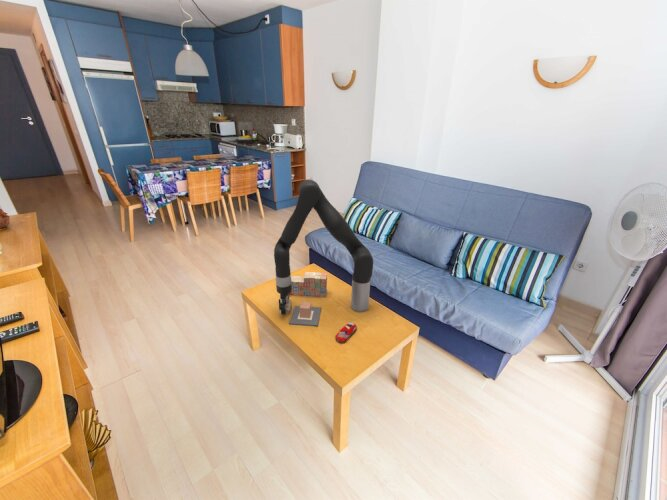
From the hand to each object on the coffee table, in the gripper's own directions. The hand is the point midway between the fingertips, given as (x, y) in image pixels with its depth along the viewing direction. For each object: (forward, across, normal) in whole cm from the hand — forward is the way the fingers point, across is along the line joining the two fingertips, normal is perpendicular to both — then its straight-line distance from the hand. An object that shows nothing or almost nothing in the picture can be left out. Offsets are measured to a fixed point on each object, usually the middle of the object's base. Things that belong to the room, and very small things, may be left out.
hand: (285, 308), depth 154 cm
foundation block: (0, -3, -11) cm, 11 cm away
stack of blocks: (+2, +17, -9) cm, 19 cm away
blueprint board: (+1, -3, -11) cm, 11 cm away
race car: (+2, -14, -32) cm, 35 cm away
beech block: (+1, 0, 0) cm, 1 cm away
